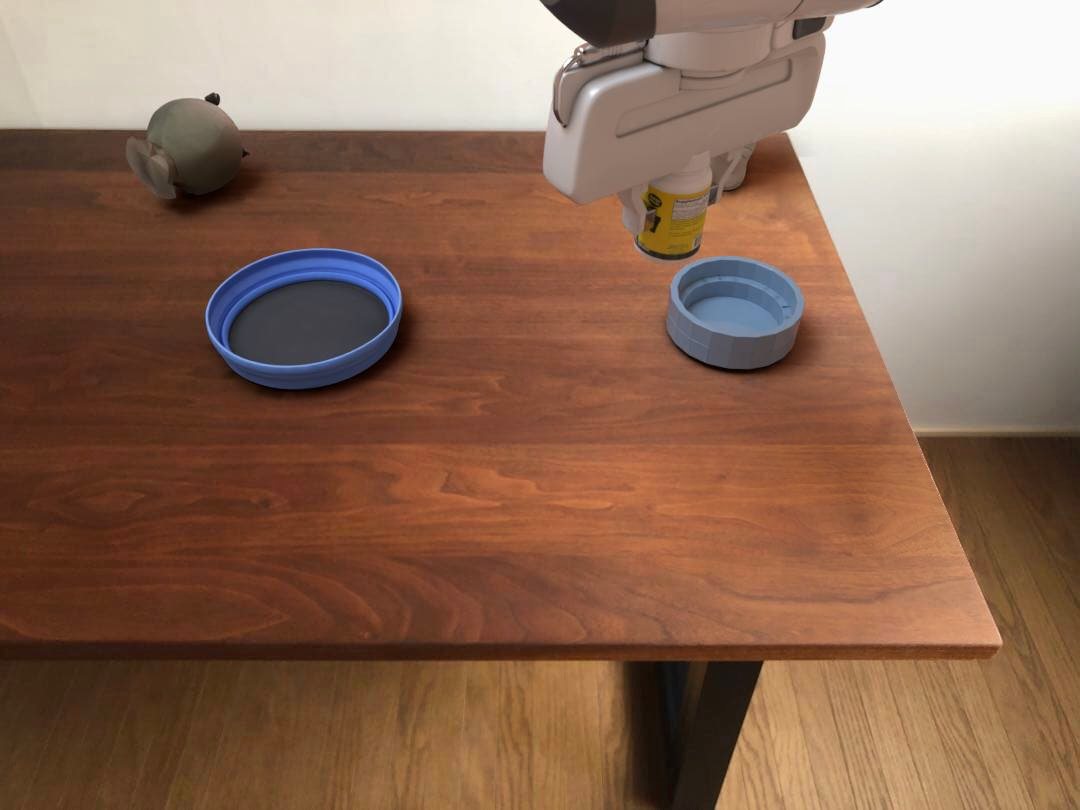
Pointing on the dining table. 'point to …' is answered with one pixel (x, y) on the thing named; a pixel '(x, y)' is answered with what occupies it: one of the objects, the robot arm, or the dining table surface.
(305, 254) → the bowl
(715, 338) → the blue bowl
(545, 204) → the dining table surface
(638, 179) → the robot arm
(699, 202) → the supplement bottle
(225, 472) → the dining table surface
